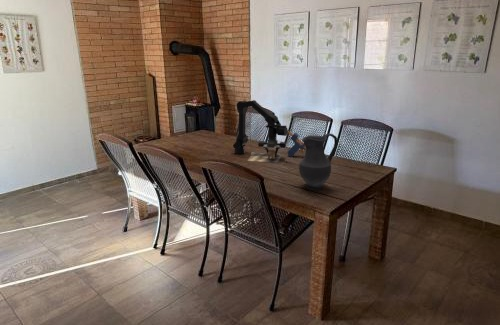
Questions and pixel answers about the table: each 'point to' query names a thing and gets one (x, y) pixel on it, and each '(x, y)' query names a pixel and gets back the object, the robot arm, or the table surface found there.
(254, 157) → the board
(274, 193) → the table surface
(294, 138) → the glue gun
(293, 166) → the table surface
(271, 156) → the brown block with peg
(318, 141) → the pitcher
